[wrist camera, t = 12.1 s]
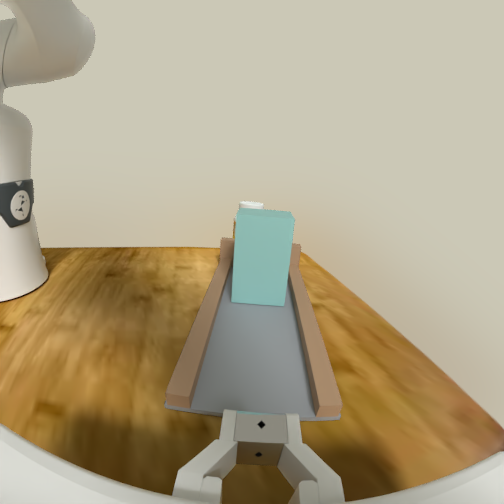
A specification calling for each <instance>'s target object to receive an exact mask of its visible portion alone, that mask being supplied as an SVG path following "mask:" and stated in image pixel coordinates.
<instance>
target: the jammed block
mask: <svg viewBox="0 0 504 504" xmlns="http://www.w3.org/2000/svg"><path fill="white" fill-rule="evenodd" d="M294 222H295V219H294V217H293V216H292V214H291V212H286V211H276V210H264V209H252V208H240V209H239V211H238V213H237V215H236V230H235V246H234V262H233V280H232V298H231V302H235V303H246V304H258V305H272V306H284V303H285V296H286V288H287V280H288V273H289V265H290V257H291V248H292V240H293V231H294Z"/></svg>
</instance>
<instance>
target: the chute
mask: <svg viewBox="0 0 504 504" xmlns="http://www.w3.org/2000/svg"><path fill="white" fill-rule="evenodd" d="M234 246H235V239H233V238H222V239H221V246H220V262H219V264H218V267H217V269H216V271H215V274H214V276H213V278H212V281H211V283H210V285H209V288H208V290H207V292H206V295H205V297H204V299H203V302H202V304H201V307H200V309H199V311H198V314H197V316H196V319H195V321H194V323H193V326H192V328H191V331H190V333H189V335H188V338H187V340H186V343H185V345H184V348H183V350H182V352H181V355H180V357H179V360H178V362H177V365H176V367H175V370H174V372H173V375H172V377H171V380H170V382H169V385H168V387H167V390H166V393H165V394H166V401H165V404H164V405H165V408H169V409H174V410H180V411H185V412H192V413H198V414H205V415H213V416H222V417H223V412H224V409H227V410H236V411H246V412H256V413H285V414H298V415H299V420H300V421H322V420H339V419H340V417H341V415H340V411H341V408H342V406H343V404H342V401H341V397H340V394H339V390H338V387H337V384H336V380H335V377H334V374H333V371H332V367H331V364H330V361H329V358H328V354H327V351H326V348H325V345H324V342H323V339H322V336H321V333H320V329H319V326H318V323H317V320H316V317H315V314H314V311H313V308H312V305H311V302H310V299H309V296H308V293H307V290H306V287H305V285H304V282H303V279H302V276H301V273H300V270H299V260H300V252H301V246H300V244H293V243H292V248H291V257H290V265H289V273H288V280H287V288H286V296H285V303H284V306H272V305H258V304H246V303H235V302H231V298H232V280H233V262H234Z"/></svg>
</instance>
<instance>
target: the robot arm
mask: <svg viewBox="0 0 504 504" xmlns="http://www.w3.org/2000/svg"><path fill="white" fill-rule="evenodd" d="M0 4H3V5H5V6H7V7H8V8H9V9H11V11H12V12H13V13H14V15H15V17H16V18H12V19H7V20H1V21H0V301H5V300H9V299H13V298H16V297H19V296H22V295H24V294H26V293H28V292H30V291H32V290H34V289H36V288H37V287H39V286H40V285H41V284H43V283H44V282H45V280H46V279H47V277H48V270H47V268H46V266H45V264H46V260H45V257H44V256H42V252H41V248H40V243H39V238H38V233H37V227H36V222H35V217H34V215H33V213H32V205H33V203H34V195H33V193H34V188H33V180H32V179H30V168H31V167H30V166H31V145H32V126H31V123H30V121H29V119H28V118H27V117H26V116H25V115H24V114H22V113H21V112H19V111H18V110H16V109H14V108H12V107H9V106H7V105H5V104H3V92H4V89H5V88H8V87H12V86H19V85H27V84H36V83H46V82H50V81H54V80H58V79H62V78H66V77H70V76H74V75H75V74H76V73H77V72H78V71H80V70H81V69H82V67H83V66H84V65H85V64H86V62H87V61H88V59H89V58H90V56H91V53H92V51H93V48H94V43H95V31H94V27H93V25H92V22H91V21H90V20H89V18H88V17H86V16H85V15H84V14H82V13H81V12H80V11H79V10H78V9H77V7H76V6H75V5H74V4H73V2H72V0H0ZM236 464H246V465H266V466H277V467H278V469H279V470H280V471H281V473H282V474H283V475H284V477H285V478H286V480H287V481H288V482H289V483H290V485H291V486H292V487H293V489H294V490H295V492H294V494H293V496H292V497H291V499H290V501H289V503H288V504H504V452H499V453H496V454H494V455H492V456H490V457H488V458H486V459H484V460H482V461H480V462H478V463H476V464H474V465H472V466H470V467H467V468H465V469H463V470H460V471H458V472H456V473H453V474H451V475H448V476H445V477H443V478H440V479H437V480H434V481H432V482H429V483H426V484H422V485H419V486H416V487H413V488H409V489H406V490H402V491H398V492H394V493H390V494H386V495H382V496H377V497H372V498H367V499H362V500H356V501H349V502H345V498H344V493H343V487H342V482H341V477H340V476H339V475H337V474H336V473H335V472H334V471H333V470H332V469H331V468H330V467H329V466H328V465H327V464H326V463H325V462H324V461H323V460H322V459H321V458H320V457H319V456H318V455H317V454H316V453H315V452H314V451H313V450H312V449H311V448H310V447H309V446H308V445H307V444H302V437H301V429H300V420H299V415H298V414H285V413H256V412H246V411H236V410H227V409H224V412H223V418H222V424H221V431H220V437H219V439H215V440H214V441H213V442H212V443H211V444H210V445H208V446H207V447H206V448H205V449H204V450H203V451H201V452H200V453H199V454H198V455H197V456H195V457H194V458H193V459H192V460H191V461H189V462H188V463H187V464H186V465H184V466H183V467H182V468H181V469H179V470H178V474H177V478H176V482H175V485H174V489H173V493H172V496H169V495H165V494H161V493H156V492H152V491H149V490H145V489H141V488H138V487H134V486H131V485H128V484H124V483H121V482H118V481H115V480H112V479H110V478H107V477H104V476H101V475H99V474H96V473H94V472H91V471H89V470H86V469H84V468H81V467H79V466H77V465H75V464H72V463H70V462H68V461H66V460H64V459H62V458H60V457H58V456H56V455H54V454H52V453H50V452H48V451H46V450H44V449H42V448H40V447H38V446H37V445H35V444H33V443H31V442H30V441H28V440H26V439H25V438H23V437H21V436H20V435H18V434H17V433H15V432H13V431H12V430H10V429H9V428H7V427H6V426H4V425H3V424H1V423H0V504H222V480H223V478H224V477H225V476H226V475H227V474H228V473H229V472H230V471H231V470H232V469H233V467H234V466H235V465H236Z"/></svg>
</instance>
